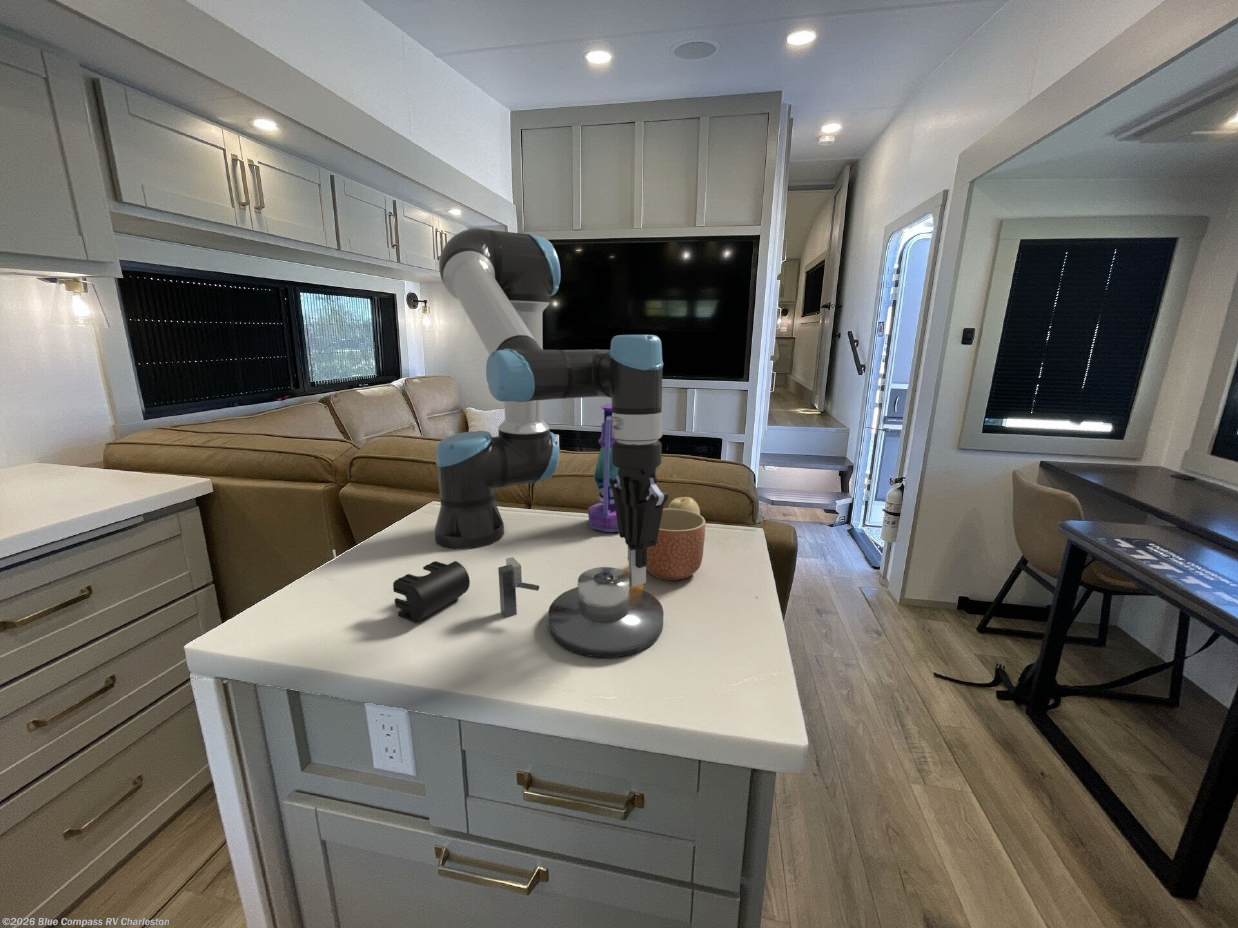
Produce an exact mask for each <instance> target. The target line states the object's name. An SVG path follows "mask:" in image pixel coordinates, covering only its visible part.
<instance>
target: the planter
mask: <svg viewBox="0 0 1238 928" xmlns="http://www.w3.org/2000/svg"><path fill="white" fill-rule="evenodd" d="M705 539H706V520H705V518H704V516H702V515H701V514H700V515H699V514H697V513H695V512H692V511H688V510H683V509H672V508H668V507H667V508H666V507H665V508H663V512H662V517H661V522H660V527H659V532H658V538H657V543H656V545H655V546H652V547H649V548H647V565H646V571H647V572H648V573H650V574H651V575H652V576H655V577H657V578H659V579H662V580H664V581H665V580H666V581H679V580H684V579H687V578H690V576H693V575H694V574H695V573H696V572H697V571H698V570H699V569H700V567H701V565H702V561H703V557H704V546H705Z"/></svg>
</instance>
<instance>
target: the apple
mask: <svg viewBox="0 0 1238 928" xmlns="http://www.w3.org/2000/svg"><path fill="white" fill-rule="evenodd" d="M667 508H672V509H683V510H688V511H692V512H695V513H697V514H699V515H701V511H700V506H699V504H698V502H696V500H695V499H694V498H692V497H689V496H683V497H682V496H680V497H675V498H674V499H672V500H671V501H670V502H669V504H668V507H667Z"/></svg>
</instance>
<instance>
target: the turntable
mask: <svg viewBox="0 0 1238 928" xmlns="http://www.w3.org/2000/svg"><path fill="white" fill-rule="evenodd" d="M621 570H622V571H624V572H626V573H627V574H628V576H629V566H628V567H626V568H624V569H621ZM547 616H548V618H547V620H548V623H547V624H548V630H549V633H550V635H551V637H552V639H553V640H554V641H555V642H557V643H558V645H560V646H561V647H563V648H565V649H567V650H568V651H571V652H573V653H576V654H579V655H582V656H589V657H594V658H595V657H596V658H597V657H598V658H614V657H621V656H627V655H631V654H634V653H638V652H640V651H642V650H644V649H646V648H648V647H650V646H651V645H652V644H654V643H655V642H656V641H657V640H658V638H659V637H660V636H661V634H662V631H663V629H664V607H663V605H662V604H661V602H660V601H659V599H658V598H657V597H655V595H653V594H651V593H650V592H648V591H647V590H644V583H643V584H640V585H636V586H633V587H632V586H630V610H629V612H628V614H627V615H626V616H624V617H623V618H621V619H619V620H616V621H612V622H595V621H591V620H588V619H586V618H584V617H583V616H582V615H581V614H580V611H579V595H578V586H576V587H574V588H570V589H568V590H566V591H565V592H563V593H561V594H559V595H558V596H557V597H556V598H555V599H554V600H553V601H552V603H550V606H549V609H548V613H547Z"/></svg>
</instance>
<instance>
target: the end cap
mask: <svg viewBox="0 0 1238 928" xmlns="http://www.w3.org/2000/svg"><path fill="white" fill-rule="evenodd" d="M422 570H424V571H428V572H430V573H428V574H425V575H413V574H410V573H408V574H405V575H404V576H401V577H399V578H397V579H395V580H394V581H393V583H392V587H393V588H392V589H393V592H394V593H396V594H399V595H402V596H404V597H405V599H406V600H404V599H401V598H397V597H396V598H394V604H395V605H394V606H395V607H396V608H397V609H400V610H398V611H397V615H398V617H399V618H402V619H404V620H407V621H410V622H412V623H418V622H420V621H421V620H423V619H425V618H427V617H428V616H430V615H431V614H433V613H435V612H437V611H438V610H441V609H442V608H444V607H445V606H447V605H448V604H451V603H452V602H453V601H455V600H457V599H459V598H460V597H462V596H463V595H464V594H465V593H467V592H468V591H469V588H470V583H471V582H470V581H471V580H470V577H469V572H468V571H467V569H466V567H464V565H463V564H462V563H460V562H459V561H457V560H454V561H452V562H450V563H448V564H447V563H443V562H440V561H436V560H435V561H432V562H431V563H428V564H426V565H425V566H423V567H422Z"/></svg>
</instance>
